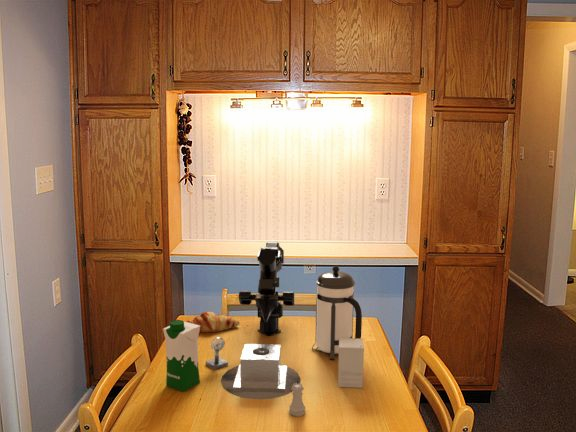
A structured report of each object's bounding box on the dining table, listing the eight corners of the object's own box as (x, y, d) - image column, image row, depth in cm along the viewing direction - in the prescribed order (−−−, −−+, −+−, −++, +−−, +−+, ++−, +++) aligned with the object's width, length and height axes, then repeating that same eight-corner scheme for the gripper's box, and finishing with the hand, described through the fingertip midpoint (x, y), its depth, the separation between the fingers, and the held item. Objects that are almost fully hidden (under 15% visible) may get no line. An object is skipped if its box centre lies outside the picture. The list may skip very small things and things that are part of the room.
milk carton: (161, 386, 162) (159, 321, 159) (182, 374, 170) (180, 312, 166) (184, 394, 158) (183, 328, 154) (204, 382, 165) (203, 318, 162)
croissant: (238, 332, 213) (237, 312, 215) (241, 329, 203) (240, 308, 206) (182, 336, 208) (181, 314, 210) (183, 333, 199) (182, 310, 201)
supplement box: (362, 377, 170) (363, 338, 167) (362, 388, 162) (364, 348, 160) (337, 375, 170) (338, 337, 168) (337, 387, 163) (338, 346, 161)
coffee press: (307, 359, 182) (308, 271, 176) (316, 340, 197) (317, 259, 192) (359, 365, 178) (363, 275, 172) (365, 346, 193) (368, 262, 188)
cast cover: (239, 368, 174) (239, 340, 173) (286, 369, 174) (287, 341, 172) (232, 391, 160) (232, 361, 158) (284, 392, 159) (285, 362, 158)
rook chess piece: (288, 408, 151) (288, 381, 149) (304, 408, 151) (304, 380, 150) (289, 417, 146) (289, 389, 145) (306, 416, 147) (306, 388, 145)
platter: (265, 356, 184) (265, 355, 184) (317, 381, 167) (317, 380, 167) (205, 378, 168) (205, 377, 168) (255, 408, 150) (255, 408, 150)
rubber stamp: (218, 360, 180) (218, 332, 178) (227, 365, 177) (227, 336, 175) (205, 364, 177) (205, 336, 175) (215, 370, 173) (214, 341, 171)
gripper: (239, 267, 185) (235, 310, 177) (294, 268, 185) (293, 311, 176) (241, 283, 195) (238, 324, 186) (294, 284, 194) (293, 325, 185)
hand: (265, 321), depth 183 cm, fingers closed
